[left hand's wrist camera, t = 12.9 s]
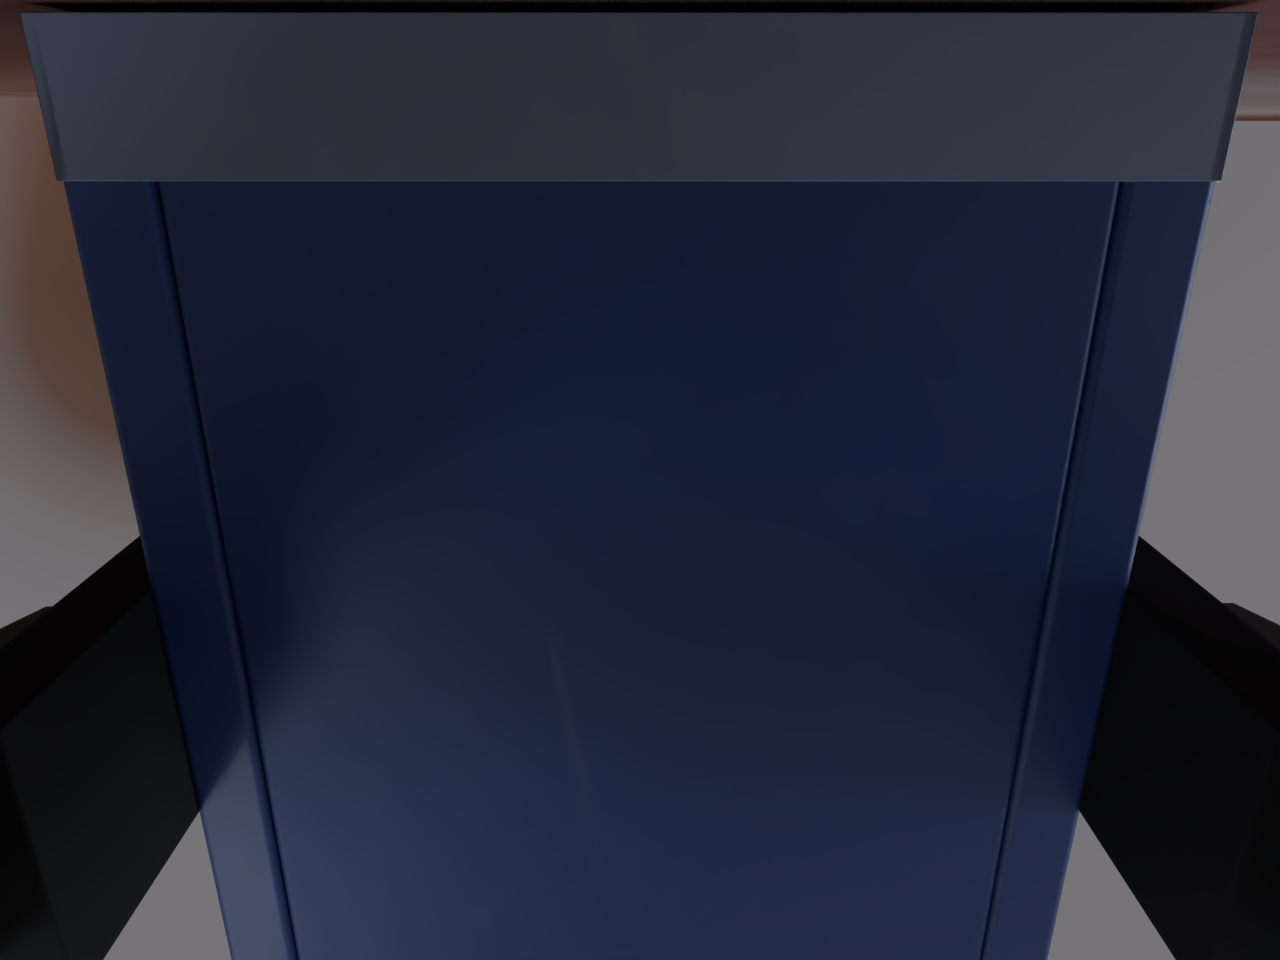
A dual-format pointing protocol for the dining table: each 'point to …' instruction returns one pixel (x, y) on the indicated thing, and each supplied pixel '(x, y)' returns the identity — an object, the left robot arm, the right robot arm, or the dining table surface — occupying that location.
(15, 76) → the dining table surface
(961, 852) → the chest
